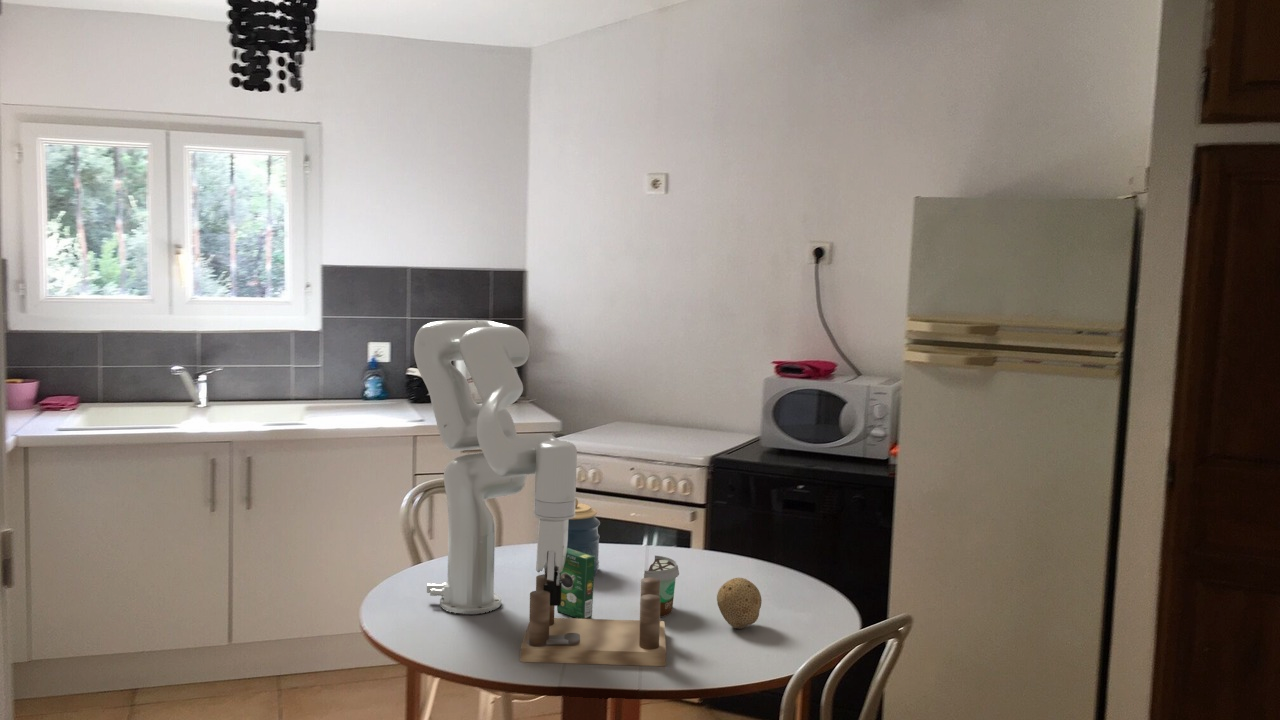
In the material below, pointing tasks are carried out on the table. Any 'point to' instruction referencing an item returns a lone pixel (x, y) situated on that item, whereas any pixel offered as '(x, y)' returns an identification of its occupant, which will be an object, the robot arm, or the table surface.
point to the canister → (584, 532)
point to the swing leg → (545, 622)
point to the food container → (664, 581)
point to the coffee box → (577, 585)
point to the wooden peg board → (606, 636)
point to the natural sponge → (739, 602)
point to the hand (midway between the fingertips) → (552, 603)
